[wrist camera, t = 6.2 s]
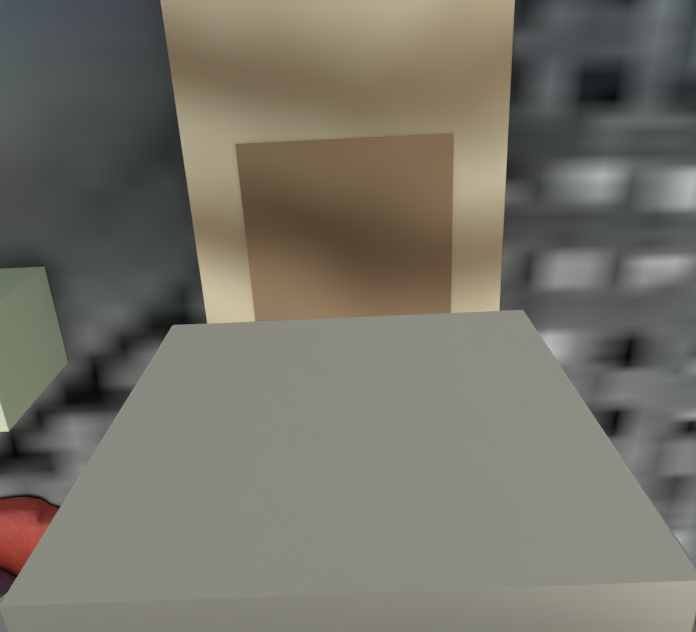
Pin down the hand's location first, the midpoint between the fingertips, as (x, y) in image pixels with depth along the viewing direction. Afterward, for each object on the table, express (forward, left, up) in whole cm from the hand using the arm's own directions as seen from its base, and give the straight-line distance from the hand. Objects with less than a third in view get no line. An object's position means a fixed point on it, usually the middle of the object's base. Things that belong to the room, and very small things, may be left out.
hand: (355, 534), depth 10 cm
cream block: (0, 0, -2) cm, 2 cm away
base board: (0, 0, -17) cm, 17 cm away
